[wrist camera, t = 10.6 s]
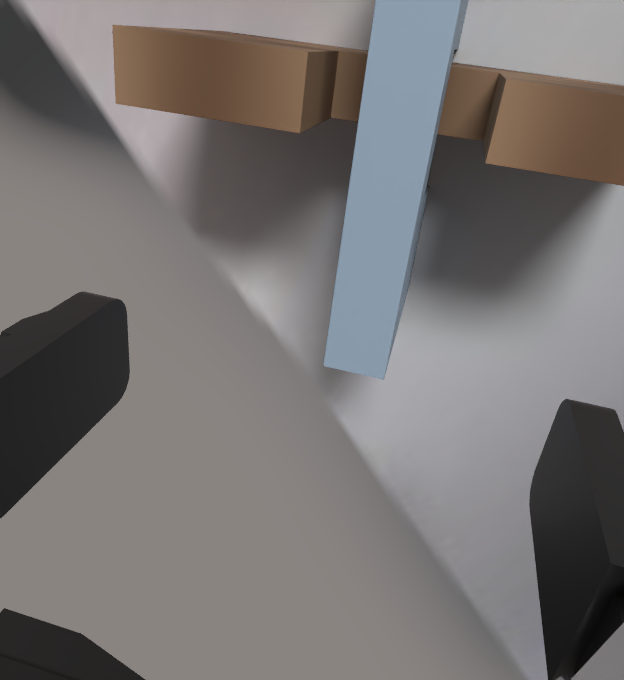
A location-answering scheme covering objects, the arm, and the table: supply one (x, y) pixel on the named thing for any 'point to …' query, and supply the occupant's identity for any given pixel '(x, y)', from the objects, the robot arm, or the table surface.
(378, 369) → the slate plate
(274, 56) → the walnut plate
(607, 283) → the table surface
